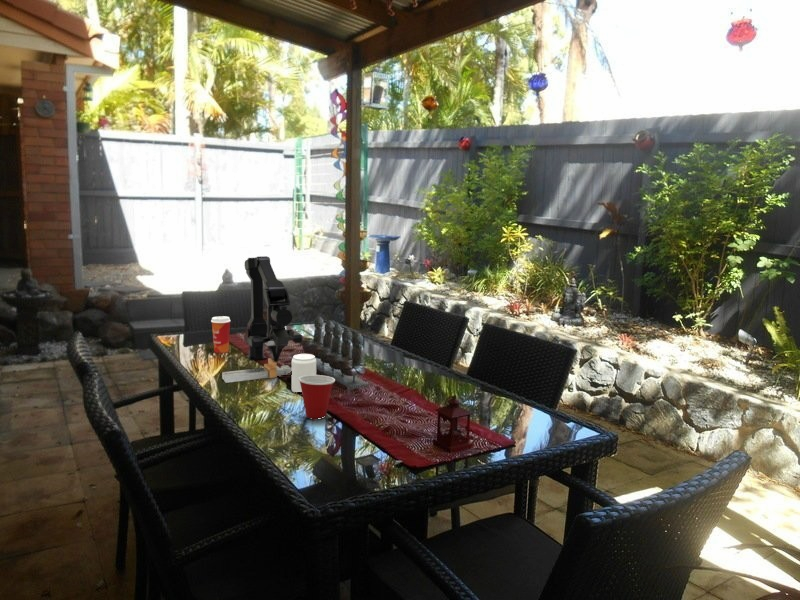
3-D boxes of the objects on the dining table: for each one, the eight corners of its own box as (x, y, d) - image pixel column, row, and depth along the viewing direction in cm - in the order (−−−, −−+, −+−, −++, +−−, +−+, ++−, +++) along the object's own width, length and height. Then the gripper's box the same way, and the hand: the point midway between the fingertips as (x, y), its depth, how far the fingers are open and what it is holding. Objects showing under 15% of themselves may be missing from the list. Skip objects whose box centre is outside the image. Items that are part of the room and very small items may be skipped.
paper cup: (210, 350, 267) (209, 316, 265) (229, 348, 270) (228, 315, 268) (213, 354, 260) (212, 320, 258) (232, 353, 263) (232, 319, 261)
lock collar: (264, 372, 236) (263, 358, 235) (270, 372, 237) (270, 357, 237) (270, 378, 230) (269, 363, 229) (276, 377, 231) (276, 362, 231)
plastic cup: (342, 414, 197) (342, 376, 194) (320, 425, 187) (320, 385, 185) (313, 407, 202) (313, 370, 200) (290, 418, 193) (290, 378, 191)
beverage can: (303, 396, 212) (303, 361, 210) (286, 391, 217) (286, 356, 215) (321, 391, 218) (321, 356, 216) (304, 386, 223) (304, 352, 221)
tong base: (222, 379, 228) (222, 372, 228) (287, 371, 240) (287, 365, 239) (226, 383, 224) (226, 376, 223) (291, 375, 235) (291, 368, 235)
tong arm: (278, 372, 238) (277, 366, 237) (279, 373, 236) (279, 367, 235) (222, 378, 228) (222, 372, 228) (223, 380, 227) (223, 373, 226)
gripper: (256, 326, 220) (256, 371, 223) (308, 322, 229) (308, 365, 232) (247, 320, 230) (247, 363, 232) (297, 316, 239) (297, 358, 241)
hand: (275, 362), depth 234 cm, fingers closed
